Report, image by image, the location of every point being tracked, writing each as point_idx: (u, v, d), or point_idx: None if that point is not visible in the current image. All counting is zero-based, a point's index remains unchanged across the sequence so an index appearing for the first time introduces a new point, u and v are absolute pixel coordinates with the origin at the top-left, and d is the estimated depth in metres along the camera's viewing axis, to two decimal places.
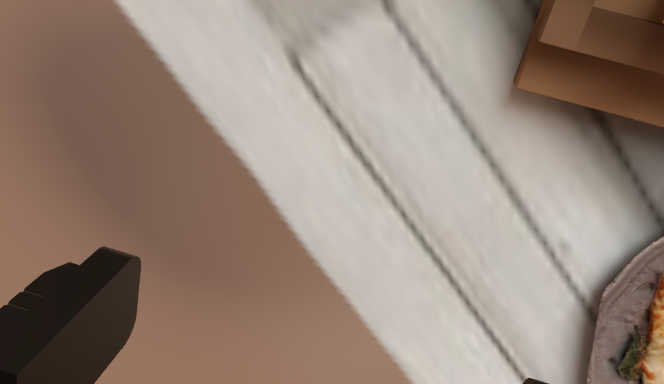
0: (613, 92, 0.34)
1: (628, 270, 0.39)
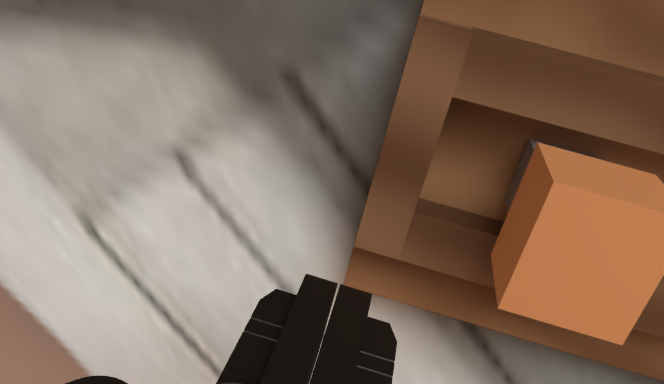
0: (461, 297, 0.26)
1: None
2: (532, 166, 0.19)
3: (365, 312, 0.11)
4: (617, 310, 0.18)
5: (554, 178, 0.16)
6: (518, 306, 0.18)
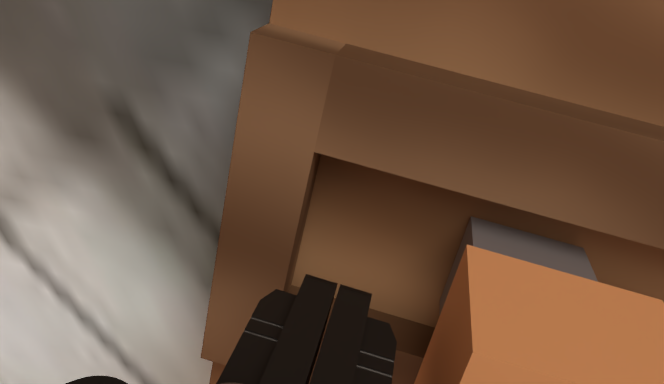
0: None
1: None
2: (457, 286, 0.11)
3: (365, 312, 0.11)
4: None
5: (475, 341, 0.09)
6: None
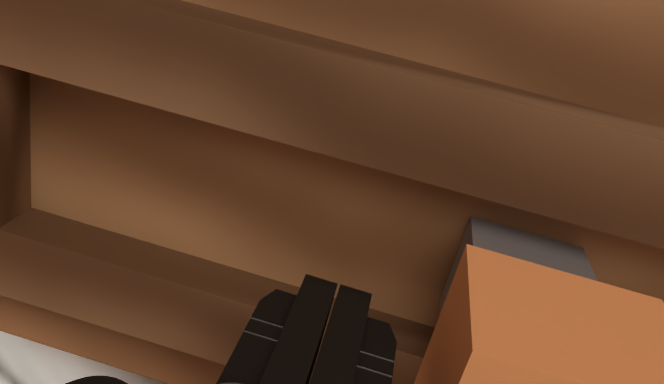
0: (124, 343, 0.20)
1: None
2: (456, 286, 0.11)
3: (365, 312, 0.11)
4: None
5: (474, 340, 0.09)
6: None
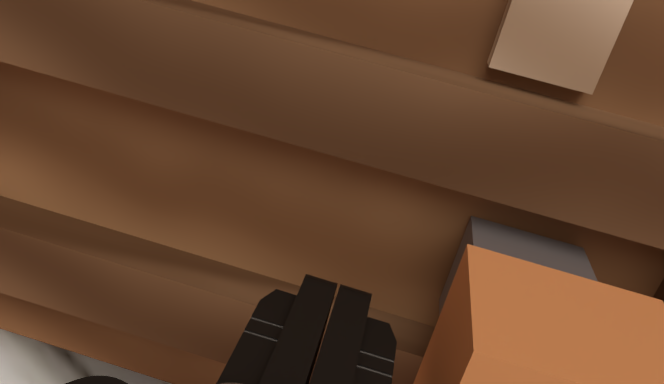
0: None
1: None
2: (457, 286, 0.11)
3: (365, 312, 0.11)
4: None
5: (476, 341, 0.09)
6: None
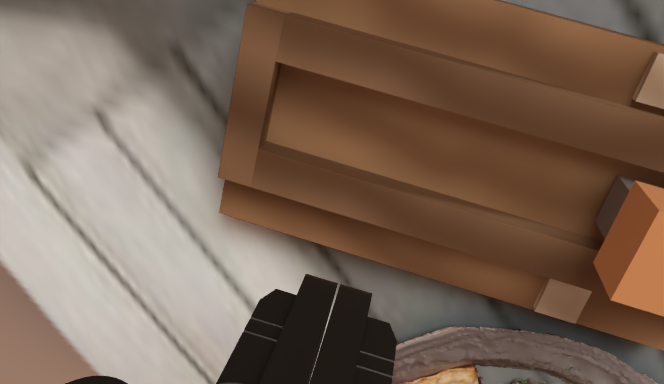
0: (306, 221, 0.35)
1: None
2: (632, 198, 0.26)
3: (365, 312, 0.11)
4: None
5: (658, 207, 0.24)
6: (625, 299, 0.25)
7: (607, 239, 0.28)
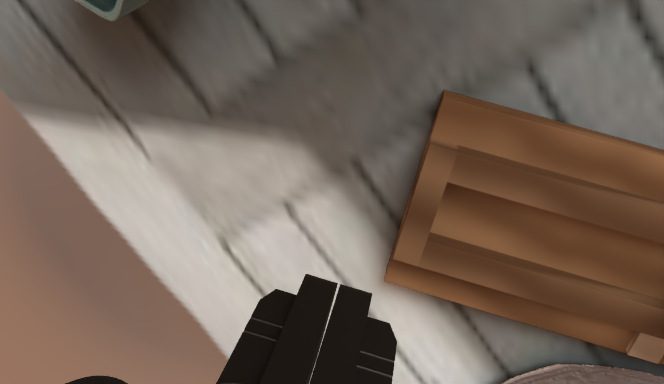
0: (453, 288, 0.46)
1: None
2: None
3: (365, 312, 0.11)
4: None
5: None
6: None
7: None
